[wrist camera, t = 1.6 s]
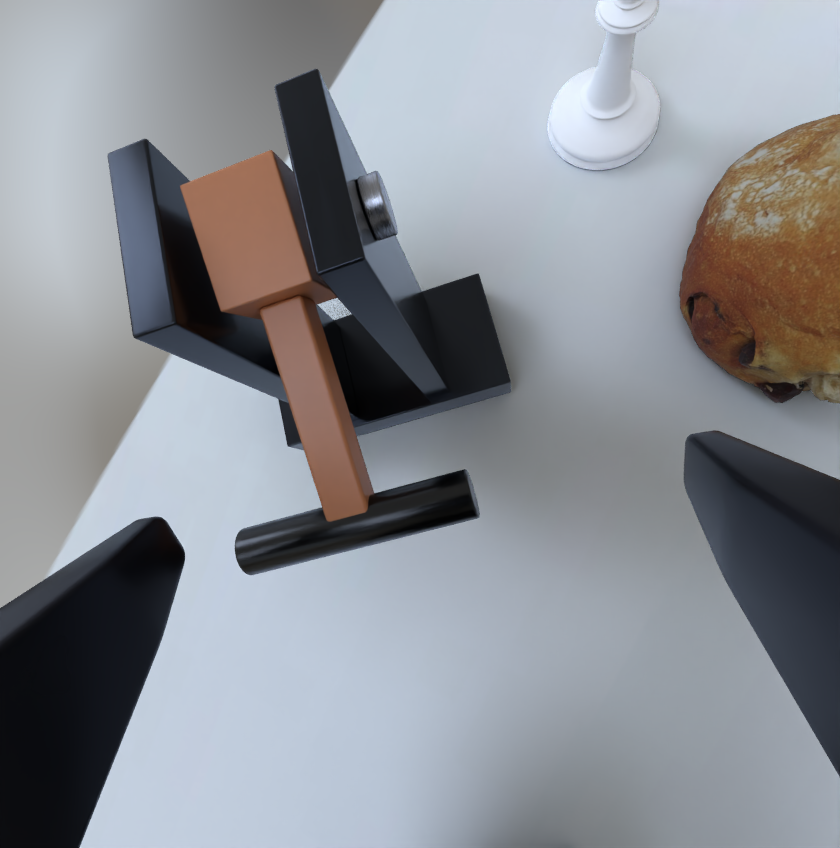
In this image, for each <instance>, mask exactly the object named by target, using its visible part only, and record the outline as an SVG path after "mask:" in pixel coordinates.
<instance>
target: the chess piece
mask: <svg viewBox="0 0 840 848" xmlns="http://www.w3.org/2000/svg"><path fill="white" fill-rule="evenodd" d="M658 7H659V1H658V0H599V1H598V3H597V6H596V12H595V13H596V19H597V22H598V24H599V25H600V26H601V27H602V28H603V29H604V30H605V31H607V35H606V38H605V42H604V45H603V48H602V51H601V55H600V58H599V61H598V63H597V66H596V67H593V68H590V69H587V70H585V71H583V72H581V73H579V74H577V75H575V76H574V77H573V78H571V79H570V80H569V81H568V82H567V83H566V84H565V85H564V86H563V87H562V88H561V89H560V91H559V92H558V94H557V95H556V97H555V99H554V101H553V104H552V107H551V111H550V114H549V118H548V126H547V129H548V136H549V140H550V143H551V145H552V147H553V148H554V150H555V151H556V153H557V154H558V155H559V156H560V157H561V158H562V159H564V160H565V161H567V162H568V163H570V164H572V165H574V166H576V167H579V168H583V169H588V170H606V169H612V168H616V167H619V166H621V165H624V164H626V163H628V162H630V161H632V160H633V159H635V158H636V157H637V156H639V155H640V154H641V153H642V152H643V151H644V150H645V149H646V148H647V147H648V145H649V144H650V143H651V141H652V139H653V138H654V136H655V133H656V131H657V127H658V122H659V116H660V99H659V96H658V93H657V90H656V88H655V87H654V85H653V84H652V82H651V81H650V80H649V79H648V78H647V77H646V76H645V75H643V74H642V73H640V72H639V71H637V70H635V69H632V59H633V51H634V42H635V36H636V32H639V31H641V30H642V29H644V28H646V27H647V26H648V25H649V24H650V23H651V22H652V21H653V19H654V18H655V16H656V14H657V12H658Z"/></svg>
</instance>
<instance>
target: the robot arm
mask: <svg viewBox="0 0 840 848" xmlns="http://www.w3.org/2000/svg"><path fill="white" fill-rule="evenodd" d="M684 484H685V489H686V492H687V494H688V497H689V499H690V501H691V504H692V506H693V508H694V511H695V513H696V515H697V517H698V520H699V522H700V524H701V527H702V529H703V531H704V534H705V536H706V538H707V540H708V543H709V545H710V547H711V550H712V552H713V554H714V557H715V559H716V561H717V564H718V566H719V568H720V570H721V572H722V574H723V576H724V578H725V580H726V582H727V584H728V586H729V588H730V589H731V591H732V593H733V595H734V597H735V598H736V600H737V602H738V603H739V605H740V607H741V608H742V610H743V612H744V614H745V615H746V617H747V619H748V620H749V622H750V624H751V626H752V627H753V629H754V631H755V632H756V634H757V636H758V638H759V639H760V641H761V643H762V644H763V646H764V648H765V650H766V651H767V653H768V655H769V656H770V658H771V660H772V662H773V663H774V665H775V667H776V668H777V670H778V672H779V674H780V675H781V677H782V679H783V680H784V682H785V684H786V686H787V687H788V689H789V691H790V692H791V694H792V696H793V698H794V699H795V701H796V703H797V704H798V706H799V708H800V710H801V711H802V713H803V715H804V716H805V718H806V720H807V722H808V723H809V725H810V727H811V728H812V730H813V732H814V733H815V735H816V737H817V739H818V740H819V742H820V744H821V745H822V747H823V749H824V751H825V752H826V754H827V756H828V757H829V759H830V761H831V763H832V764H833V766H834V768H835V769H836V771H837V773H838V775H839V776H840V480H839V479H836V478H834V477H831V476H829V475H826V474H824V473H821V472H819V471H816V470H814V469H812V468H809V467H807V466H804V465H802V464H799V463H797V462H794V461H792V460H789V459H787V458H784V457H782V456H779V455H777V454H774V453H772V452H769V451H767V450H764V449H762V448H760V447H757V446H755V445H752V444H750V443H747V442H745V441H742V440H740V439H737V438H735V437H732V436H730V435H727V434H725V433H722V432H720V431H708V432H702V433H695V434H691V435H689V436H688V437H687V439H686V442H685V459H684ZM184 562H185V552H184V549H183V547H182V545H181V543H180V542H179V540H178V539H177V537H176V536H175V534H174V532H173V531H172V529H171V528H170V526H169V525H168V523H167V522H166V520H164V519H163V518H161V517H151V518H144V519H139V520H136V521H135V522H133V523H131V524H130V525H128V526H127V527H125V528H124V529H122V530H121V531H119V532H117V533H116V534H114V535H113V536H111V537H110V538H108V539H107V540H105V541H104V542H102V543H100V544H99V545H97V546H96V547H94V548H93V549H91V550H90V551H88V552H86V553H85V554H83V555H82V556H80V557H79V558H77V559H76V560H74V561H73V562H71V563H69V564H68V565H66V566H65V567H63V568H62V569H60V570H59V571H57V572H56V573H54V574H52V575H51V576H49V577H48V578H46V579H45V580H43V581H42V582H40V583H38V584H37V585H35V586H34V587H32V588H31V589H29V590H28V591H26V592H25V593H23V594H21V595H20V596H18V597H17V598H15V599H14V600H12V601H11V602H9V603H8V604H6V605H5V606H3V607H1V608H0V848H79V847H80V845H81V842H82V840H83V837H84V835H85V832H86V830H87V827H88V825H89V822H90V819H91V817H92V814H93V812H94V809H95V807H96V804H97V802H98V799H99V797H100V794H101V792H102V789H103V787H104V784H105V782H106V779H107V777H108V774H109V772H110V769H111V767H112V764H113V762H114V759H115V757H116V754H117V751H118V749H119V746H120V744H121V741H122V739H123V736H124V734H125V731H126V729H127V726H128V724H129V721H130V719H131V716H132V714H133V711H134V709H135V706H136V704H137V701H138V699H139V696H140V694H141V691H142V689H143V686H144V683H145V681H146V678H147V676H148V673H149V671H150V668H151V666H152V663H153V661H154V658H155V656H156V653H157V651H158V648H159V645H160V642H161V640H162V637H163V633H164V630H165V627H166V624H167V620H168V617H169V614H170V610H171V607H172V603H173V600H174V596H175V593H176V590H177V586H178V583H179V579H180V576H181V573H182V569H183V566H184Z"/></svg>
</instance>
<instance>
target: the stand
mask: <svg viewBox="0 0 840 848" xmlns="http://www.w3.org/2000/svg"><path fill="white" fill-rule="evenodd" d="M275 93H276V97H277V101H278V106H279V110H280V115H281V119H282V124H283V128H284V133H285V137H286V141H287V146H288V150H289V155H290V159H291V164H292V168H293V172H294V177H295V181H296V186H297V190H298V195H299V199H300V203H301V208H302V212H303V217H304V221H305V226H306V230H307V235H308V239H309V243H310V248H311V252H312V257H313V261H314V266H315V270H316V274H317V275H318V276H319V278H320V279H321V280H322V281H323V282H324V283H325V284H326V285H327V287H328V288H329V289H330V290H331V291H332V292H333V293H334V294H335V295H336V297H337V298H338V299H339V300H340V301H341V302H342V303H343V304H344V306H345V307H346V308H347V309H348V310H349V311H350V312H351V313H352V315H349V316H346V317H343V318H340V319H337V320H333V319H332V318H331V317H330V316H329V315H327V314H326V313H325V312H324V311H323V310H322V309H321V308H320V307H319V306H318V305H317V304H316V307H317V311H318V314H319V317H320V320H321V323H322V327H323V330H324V333H325V336H326V340H327V343H328V346H329V349H330V352H331V356H332V359H333V362H334V365H335V369H336V372H337V375H338V378H339V381H340V385H341V388H342V391H343V394H344V398H345V401H346V404H347V407H348V410H349V414H350V417H351V420H352V423H353V427H354V430H355V433H356V436H360V435H364V434H367V433H371V432H374V431H378V430H381V429H385V428H388V427H392V426H395V425H399V424H402V423H405V422H409V421H412V420H416V419H419V418H423V417H426V416H430V415H433V414H437V413H440V412H444V411H447V410H451V409H454V408H458V407H461V406H465V405H468V404H472V403H475V402H479V401H482V400H485V399H489V398H492V397H496V396H499V395H503V394H506V393H510V392H511V380H510V377H509V374H508V370H507V367H506V364H505V360H504V357H503V354H502V350H501V347H500V343H499V340H498V337H497V333H496V330H495V327H494V323H493V320H492V316H491V313H490V310H489V306H488V303H487V300H486V296H485V293H484V289H483V286H482V283H481V279H480V276H479V274H475V275H471V276H468V277H465V278H462V279H459V280H456V281H453V282H450V283H447V284H444V285H441V286H438V287H435V288H432V289H429V290H426V291H423V292H422V291H421V289H420V287H419V285H418V282H417V280H416V278H415V276H414V274H413V272H412V270H411V267H410V265H409V263H408V261H407V259H406V257H405V254H404V252H403V250H402V248H401V246H400V244H399V242H398V239H397V237H396V235H397V233H398V230H397V224H396V220H395V217H394V213H393V210H392V206H391V203H390V200H389V197H388V194H387V191H386V188H385V186H384V183H383V180H382V178H381V176H380V174H379V173H378V171H374V172H371V173H369V174H367V173H366V171H365V168H364V166H363V164H362V162H361V160H360V158H359V155H358V153H357V151H356V149H355V147H354V145H353V143H352V140H351V138H350V136H349V134H348V132H347V130H346V127H345V125H344V123H343V121H342V119H341V117H340V115H339V112H338V110H337V108H336V106H335V104H334V102H333V99H332V97H331V95H330V93H329V91H328V89H327V87H326V84H325V83H324V80H323V78H322V76H321V74H320V72H319V70H318V69H313V70H311V71H308V72H306V73H303V74H301V75H298V76H296V77H294V78H291V79H289V80H286V81H284V82H281V83H279V84H276V85H275ZM108 162H109V169H110V176H111V183H112V190H113V198H114V205H115V211H116V219H117V225H118V233H119V240H120V246H121V254H122V261H123V268H124V275H125V282H126V289H127V296H128V303H129V310H130V318H131V325H132V332H133V336H134V338H136V339H138V340H140V341H143V342H145V343H148V344H150V345H152V346H154V347H157V348H159V349H162V350H164V351H166V352H169V353H171V354H173V355H176V356H178V357H180V358H183V359H185V360H188V361H190V362H192V363H195V364H197V365H199V366H202V367H204V368H207V369H209V370H211V371H214V372H216V373H218V374H221V375H223V376H226V377H228V378H230V379H233V380H235V381H237V382H240V383H242V384H245V385H247V386H249V387H252V388H254V389H256V390H259V391H261V392H264V393H266V394H268V395H271V396H273V397H275V398H278V399H279V405H280V410H281V415H282V420H283V425H284V430H285V435H286V440H287V445H288V447H292V448H297V449H301V450H304V448H303V445H302V442H301V439H300V436H299V433H298V430H297V426H296V423H295V420H294V417H293V414H292V411H291V408H290V405H289V401H288V398H287V395H286V392H285V389H284V386H283V383H282V380H281V376H280V373H279V370H278V367H277V364H276V361H275V358H274V355H273V351H272V348H271V345H270V342H269V339H268V336H267V333H266V330H265V326H264V323H263V320H260V319H255V318H250V317H245V316H240V315H235V314H230V313H226V312H221V310H220V308H219V305H218V301H217V298H216V295H215V292H214V289H213V286H212V283H211V280H210V277H209V274H208V271H207V268H206V265H205V262H204V259H203V256H202V252H201V249H200V246H199V243H198V240H197V237H196V234H195V231H194V228H193V225H192V222H191V219H190V216H189V213H188V210H187V207H186V204H185V200H184V197H183V194H182V191H181V188H180V186H181V185H182V184H185V183H188V182H190V181H189V180H188V179H187V178H186V177H185V176H184V175H183V174H182V173H181V172H180V171H179V170H178V169H177V168H176V167H175V166H174V165H173V164H172V163H171V162H170V161H169V160H168V159H167V158H166V157H165V156H164V155H163V154H162V153H161V152H160V151H159V150H157V149H156V148H155V147H154V146H153V145H152V144H151V143H150V142H149V141H148V140H147V139H142V140H140V141H137V142H135V143H133V144H130V145H128V146H125V147H123V148H120V149H118V150H115V151H113V152H111V153H109V154H108Z"/></svg>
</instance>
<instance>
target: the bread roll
mask: <svg viewBox="0 0 840 848" xmlns="http://www.w3.org/2000/svg"><path fill="white" fill-rule="evenodd" d="M679 296H680V308H681V311H682V314H683V316H684V319H685V320H686V322H687V324H688V326H689V328H690V330H691V332H692V335H693V337H694V340H695V341H696V343H697V345H698V346H699V348H700V349H701V350H702V351H703V352H704V353H705V354H706V355H707V356H708V357H709V358H710V359H712V360H713V361H714V362H716V363H717V364H718V365H719V366H721V367H722V368H724V369H725V370H726V371H727V372H728V373H729V374H731V375H733V376H735V377H737V378H739V379H741V380H743V381H745V382H748V383H751V384H754V386H755V387H758V388H760V389H761V390H762V391H763V393H764V394H765V395H766V396H767V397H768V398H770V399H771V400H772V401H774V402H776V403H777V402H781V403H783V402H785V401H787V400H789V399H791V398H793V397H795V396H796V395H799V394H800V393H801V392H802V391H808V390H811V391H812V392H813V394H814V396H815V397H817V398H818V399H819V400H828V402H832V403H839V404H840V114H838V115H832V116H829V117H826V118H822V119H819V120H816V121H812V122H809V123H805V124H802V125H799V126H796V127H794V128H791V129H789V130H787V131H785V132H783V133H781V134H779V135H777V136H775V137H773V138H771V139H769V140H767V141H765V142H763V143H761V144H759V145H757V146H756V147H754V148H753V149H752V150H751V151H749V152H748V153H746V154H745V155H744V156H742V157H741V158H740V159H738V160H737V161H736V162H735V163H733V164H732V165H731V166H730V167H729V168H728V169H727V171H726V173H725V174H724V176H723V178H722V179H721V180H720V182H719V183H718V184H717V185H716V187H715V189H714V190H713V192H712V193H711V195H710V196H709V198H708V199H707V203H706V205H705V207H704V210H703V212H702V214H701V216H700V218H699V220H698V221H697V227H696V233H695V235H694V237H693V239H692V242H691V244H690V246H689V248H688V251H687V257H686V262H685V265H684V268H683V273H682V281H681V284H680V293H679Z"/></svg>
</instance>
